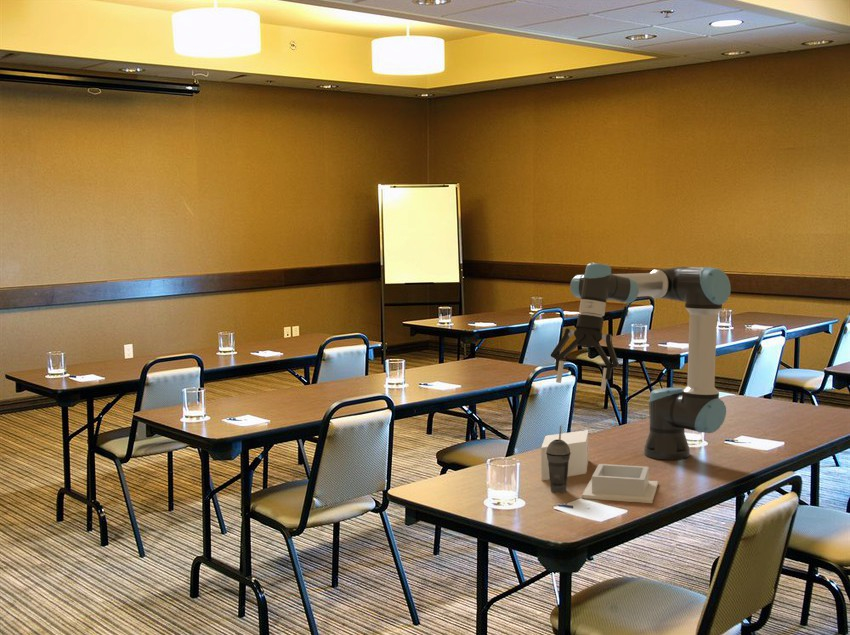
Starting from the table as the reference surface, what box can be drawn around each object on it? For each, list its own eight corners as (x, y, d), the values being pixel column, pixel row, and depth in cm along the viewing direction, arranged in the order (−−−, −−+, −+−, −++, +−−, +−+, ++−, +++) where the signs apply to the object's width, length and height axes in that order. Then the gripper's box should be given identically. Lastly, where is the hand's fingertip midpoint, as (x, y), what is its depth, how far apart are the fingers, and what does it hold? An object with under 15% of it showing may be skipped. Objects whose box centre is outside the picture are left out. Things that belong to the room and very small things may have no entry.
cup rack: (592, 480, 292) (592, 461, 292) (657, 484, 286) (657, 465, 286) (582, 498, 274) (582, 478, 273) (652, 503, 267) (652, 482, 267)
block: (608, 464, 312) (608, 432, 311) (562, 484, 289) (562, 450, 288) (568, 457, 321) (568, 427, 320) (521, 477, 298) (520, 444, 297)
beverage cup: (560, 485, 287) (559, 421, 285) (575, 491, 281) (575, 425, 279) (541, 489, 283) (540, 424, 281) (556, 495, 277) (556, 429, 275)
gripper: (547, 308, 280) (536, 379, 279) (630, 319, 269) (619, 393, 269) (554, 311, 286) (544, 379, 286) (635, 322, 276) (624, 393, 275)
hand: (580, 386), depth 277 cm, fingers open, 13 cm apart
